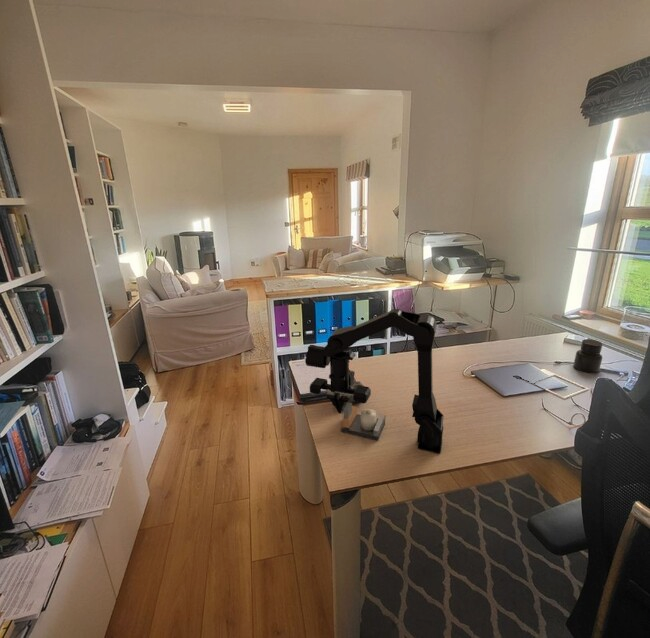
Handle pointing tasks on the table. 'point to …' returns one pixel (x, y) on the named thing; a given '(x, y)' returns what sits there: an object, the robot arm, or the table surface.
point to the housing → (368, 419)
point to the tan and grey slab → (349, 415)
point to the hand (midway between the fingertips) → (340, 412)
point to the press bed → (359, 431)
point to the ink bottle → (589, 356)
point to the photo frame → (565, 380)
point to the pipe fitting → (354, 385)
